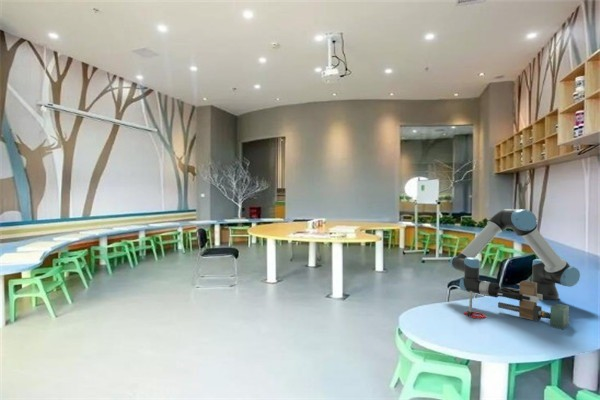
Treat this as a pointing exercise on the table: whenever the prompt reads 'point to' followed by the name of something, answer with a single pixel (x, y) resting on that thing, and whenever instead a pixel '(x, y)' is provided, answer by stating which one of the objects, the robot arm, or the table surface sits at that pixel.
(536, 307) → the collar
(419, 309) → the table surface
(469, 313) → the tow hook
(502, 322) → the table surface
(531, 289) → the sleeve
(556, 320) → the rod stand
